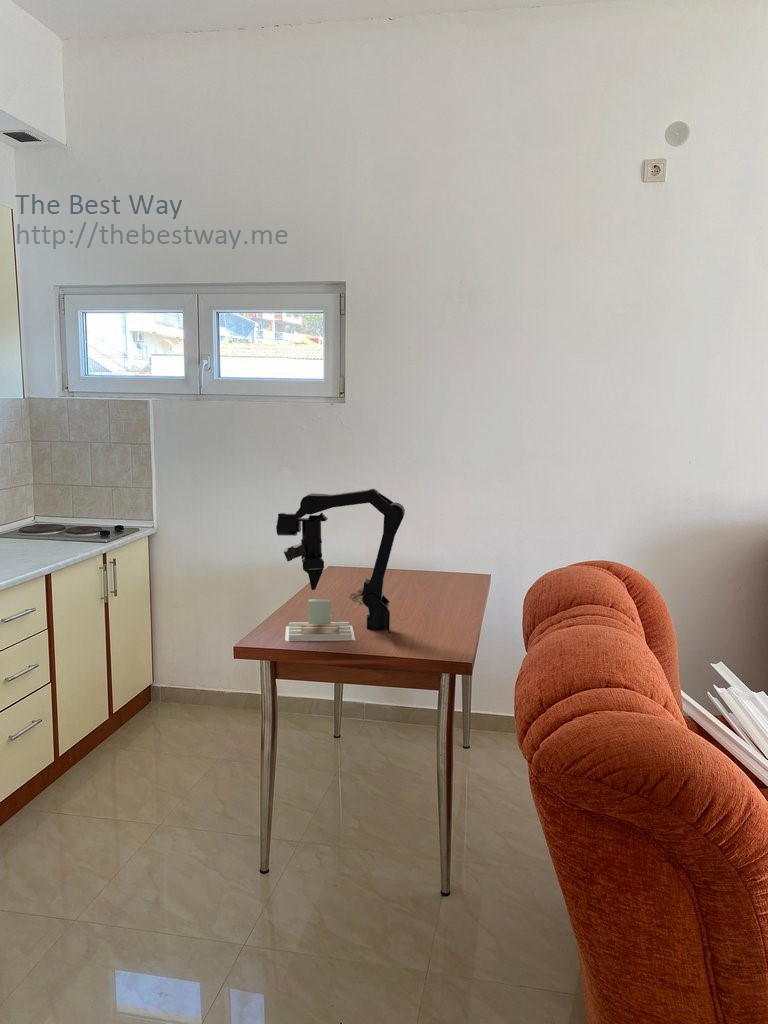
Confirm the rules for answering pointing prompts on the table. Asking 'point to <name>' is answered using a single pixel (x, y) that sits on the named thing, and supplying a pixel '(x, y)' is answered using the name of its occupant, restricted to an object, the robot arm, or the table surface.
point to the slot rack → (295, 634)
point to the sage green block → (319, 611)
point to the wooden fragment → (357, 596)
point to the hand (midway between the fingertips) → (312, 586)
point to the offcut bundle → (320, 629)
